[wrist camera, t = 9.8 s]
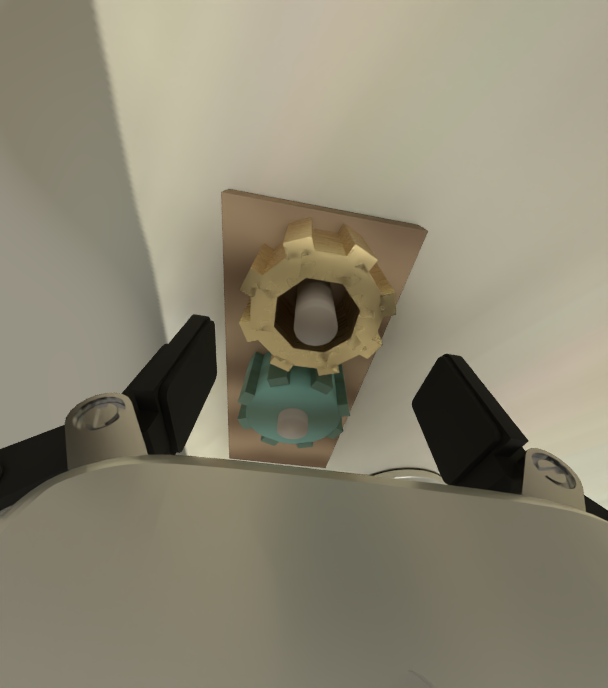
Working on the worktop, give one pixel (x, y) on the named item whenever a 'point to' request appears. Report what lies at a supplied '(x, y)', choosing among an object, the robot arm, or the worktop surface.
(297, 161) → the worktop surface
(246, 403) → the gear board
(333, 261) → the brass gear
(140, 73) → the worktop surface
